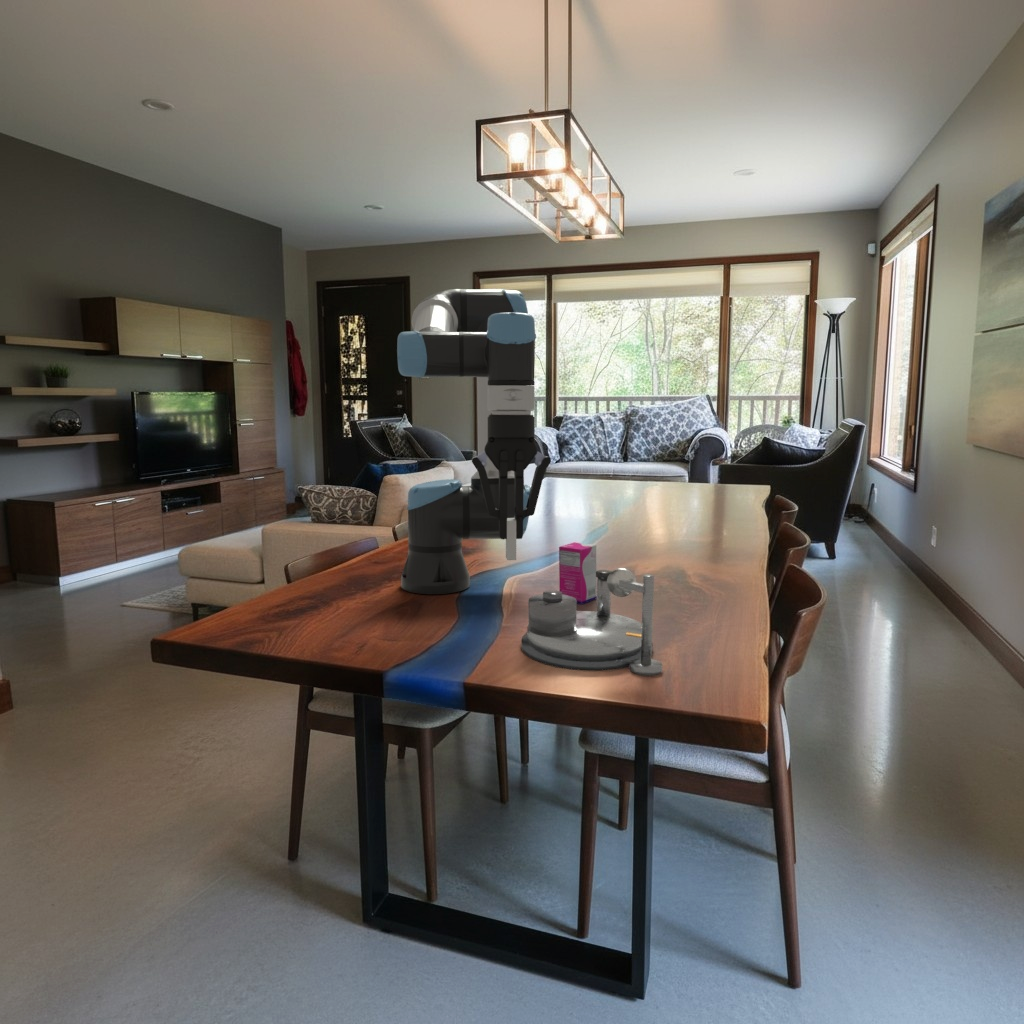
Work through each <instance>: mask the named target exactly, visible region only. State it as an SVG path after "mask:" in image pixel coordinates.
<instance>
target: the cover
mask: <svg viewBox="0 0 1024 1024" xmlns="http://www.w3.org/2000/svg"><path fill="white" fill-rule="evenodd" d="M577 607H578V604H577V600H576V599H575V598H574V597H571V596H568V595H563V594H562V592H560V590H545V591H543V592H542V594H541V593H540V594H535V595H532V596H530V597H529V598H528V623H527V626H528V629H529V631H530V632H532V633H534V634H537V635H541V636H549V637H558V636H566V635H570V634H573V633H574V632H575V631H576V616H577V611H578V610H577Z"/></svg>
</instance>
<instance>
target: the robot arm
mask: <svg viewBox="0 0 1024 1024" xmlns="http://www.w3.org/2000/svg"><path fill="white" fill-rule="evenodd" d="M528 311H529V310H528V307H527V303H526V298H525V296H524V294H523V293H522V292H521V291H520V290H515V289H504V288H497V289H496V288H492V289H491V288H487V289H485V288H483V289H480V288H479V289H477V288H476V289H471V288H470V289H467V288H454V289H453V288H452V289H450V288H449V289H446V290H441V291H438V292H435V293H433V294H431V295H429V296H427V297H425V298H424V299H422V300H421V301H420V302H419V303H418V304H417V305H416V307H415V308H414V310H413V312H412V315H411V316H412V317H411V326H412V331H401V332H400V333H399V334H398V336H397V345H396V347H397V349H396V353H397V354H396V355H397V368H398V372H399V374H400V375H401V376H404V377H412V378H414V377H415V378H418V379H420V378H433V377H434V378H455V377H457V378H458V377H459V378H476V388H477V389H476V395H477V397H476V400H477V401H476V402H477V403H476V405H477V406H476V407H477V410H476V411H477V412H476V413H477V416H476V417H477V421H476V423H477V455H476V456H473V457H472V458H471V463H472V464H473V466H474V468H475V470H477V471H476V472H475V473H474V474H473V475H472V476H471V478H470V485H463V482H462V481H461V479H458V478H453V479H449V478H448V479H447V478H446V479H438V480H432V481H430V480H429V481H425V482H421V483H417V484H415V485H413V486H411V487H410V488H409V490H408V493H407V506H406V510H407V517H408V518H407V532H408V533H407V534H408V535H407V542H408V554H407V557H406V560H405V563H404V566H403V569H402V572H401V573H402V574H401V577H400V588H401V589H402V590H404V591H406V592H409V593H412V594H413V593H414V594H419V595H444V594H445V595H446V594H453V593H454V594H455V593H459V592H462V591H464V590H466V589H468V588H469V587H470V586H471V577H470V576H471V575H470V572H469V569H468V566H467V563H466V561H465V557H464V554H463V552H462V551H463V550H462V547H463V546H462V544H463V543H462V541H463V540H496V539H499V540H505V559H506V561H517V540H522V539H523V536H524V535H525V533H526V531H527V528H528V523H529V518H530V517H531V516H534V514H535V512H536V509H537V503H538V500H539V496H540V491H541V488H542V483H543V479H544V475H545V472H546V471H547V469H548V467H549V466H550V465H551V463H552V459H551V457H549V456H546V455H544V454H543V453H542V452H540V451H539V449H538V446H537V444H536V440H535V434H536V433H535V432H536V431H535V427H536V426H535V425H536V424H535V416H534V415H533V414H532V412H534V410H535V407H536V406H535V404H536V403H535V396H536V395H535V363H536V361H535V360H536V359H535V358H536V356H535V355H536V352H535V351H536V338H537V334H536V325H535V324H536V323H535V318H534V316H533V315H532V314H530V313H529V312H528ZM534 458H535V459H534ZM533 460H534V465H535V466H536V467H535V469H534V474H533V478H532V481H531V484H530V485H531V486H530V485H529V484H525V476H524V475H525V473H524V472H525V470H526V469H527V468H528V466H529V465H530V464H531V462H532V461H533Z"/></svg>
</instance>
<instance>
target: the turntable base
mask: <svg viewBox="0 0 1024 1024" xmlns="http://www.w3.org/2000/svg"><path fill="white" fill-rule="evenodd" d="M520 641H521V643H520V645H521V646H520V647H521V648H520V649H521V651H522V652H523V653H524V655H526V656H527V657H528V658H530V659H531V660H534V661H536V662H538V663H539V664H544V665H545V666H546V665H547V666H551V667H553V668H554V667H555V668H559V669H565V670H571V671H573V670H574V671H584V672H585V671H586V672H588V671H592V672H594V671H595V672H596V671H597V672H599V671H600V672H601V671H613V670H614V671H615V670H621V669H625V668H629V664H630V661H631V660H634V659H638V658H641V651H640V652H638V653H636V654H634V655H631V656H628V657H623V658H618V659H611V660H575V659H567V658H561V657H556V656H552V655H549V654H546V653H543V652H540V651H538V650H536V649H534V648H533V647H532V646H531V645H530V644H529V643H528V641H527V632H525V633H524V634H523V636H522V637H521V640H520ZM653 646H654V643H652V653H651V656H652V654H653V652H654V651H653V649H654V647H653Z"/></svg>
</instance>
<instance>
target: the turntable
mask: <svg viewBox="0 0 1024 1024" xmlns="http://www.w3.org/2000/svg"><path fill="white" fill-rule="evenodd" d="M611 572H612V570H607V569H601V570H596V585H597V599H596V611H594V610H593V611H591V610H577V616H576V631H575V632H574V633H573V634H570V635H566V636H558V637H549V636H541V635H537V634H534V633H532V632H530V631H529V629H528V625H527V626H526V627H527V629H526V630H527V631H526V633H527V641H528V643H529V644H530V645H531V646H532V647H533V648H534V649H536V650H538V651H540V652H543V653H546V654H549V655H552V656H556V657H561V658H567V659H575V660H611V659H618V658H623V657H628V656H631V655H634V654H636V653H638V652H640V651H641V635H642V622H640V621H639V620H636V619H634V618H630V617H628V616H624V615H620V614H616V613H613V612H612V613H611V605H612V604H611V599H612V596H611V595H612V593H611V592H610V590H609V588H608V586H607V578H608V576H609V574H610V573H611Z"/></svg>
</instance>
